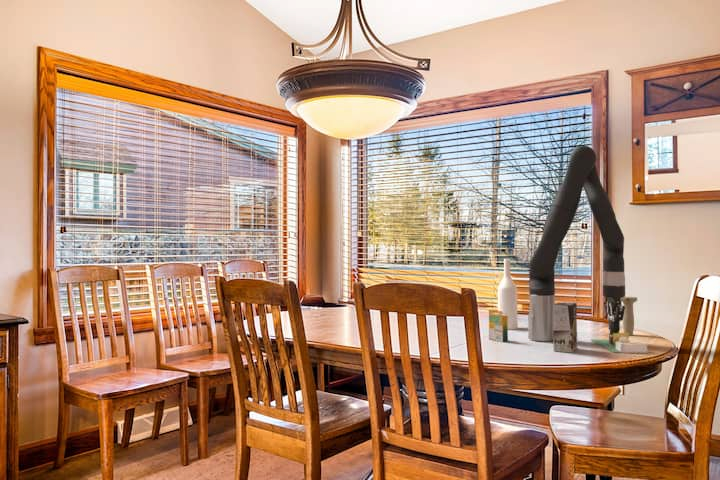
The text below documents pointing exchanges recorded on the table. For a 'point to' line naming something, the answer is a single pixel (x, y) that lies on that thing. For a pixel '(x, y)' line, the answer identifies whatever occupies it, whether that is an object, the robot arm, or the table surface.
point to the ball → (624, 340)
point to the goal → (631, 347)
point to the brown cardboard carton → (611, 340)
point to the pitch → (608, 345)
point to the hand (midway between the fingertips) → (614, 330)
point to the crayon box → (498, 326)
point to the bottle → (508, 297)
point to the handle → (628, 314)
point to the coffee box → (565, 327)
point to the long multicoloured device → (616, 334)
